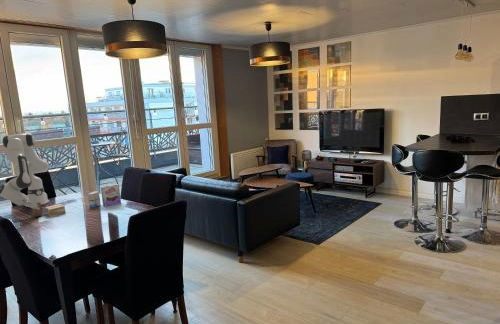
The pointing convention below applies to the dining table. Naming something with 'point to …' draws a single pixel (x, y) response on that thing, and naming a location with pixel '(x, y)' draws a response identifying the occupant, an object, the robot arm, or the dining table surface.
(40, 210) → the walnut pillar
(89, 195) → the ink box
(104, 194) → the candy box
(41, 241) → the dining table surface
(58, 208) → the beech block
